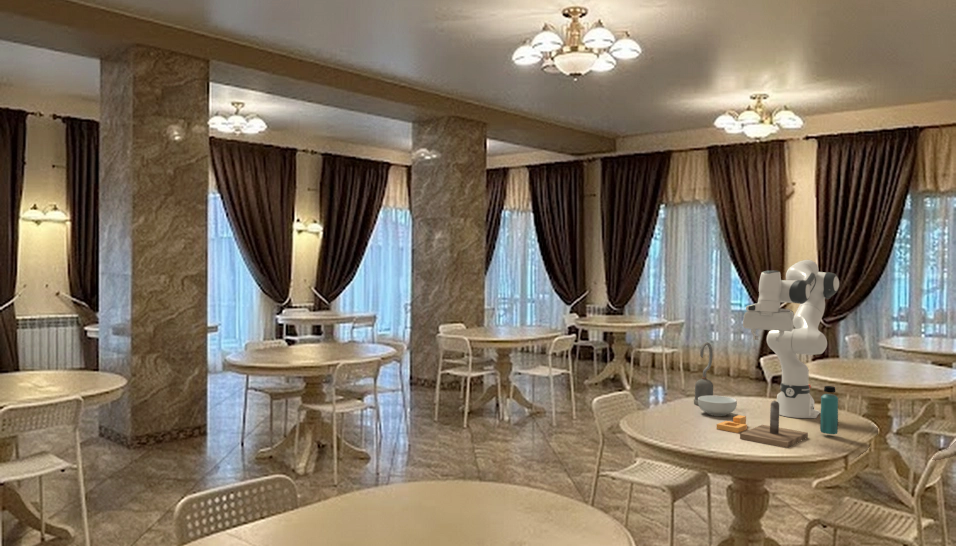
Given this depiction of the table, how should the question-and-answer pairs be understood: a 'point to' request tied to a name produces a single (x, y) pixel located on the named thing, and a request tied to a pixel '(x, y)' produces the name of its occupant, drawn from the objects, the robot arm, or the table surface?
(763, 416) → the table surface
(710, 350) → the hook
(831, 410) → the beverage bottle
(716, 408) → the cereal bowl
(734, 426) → the loop fitting
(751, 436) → the keeper board
